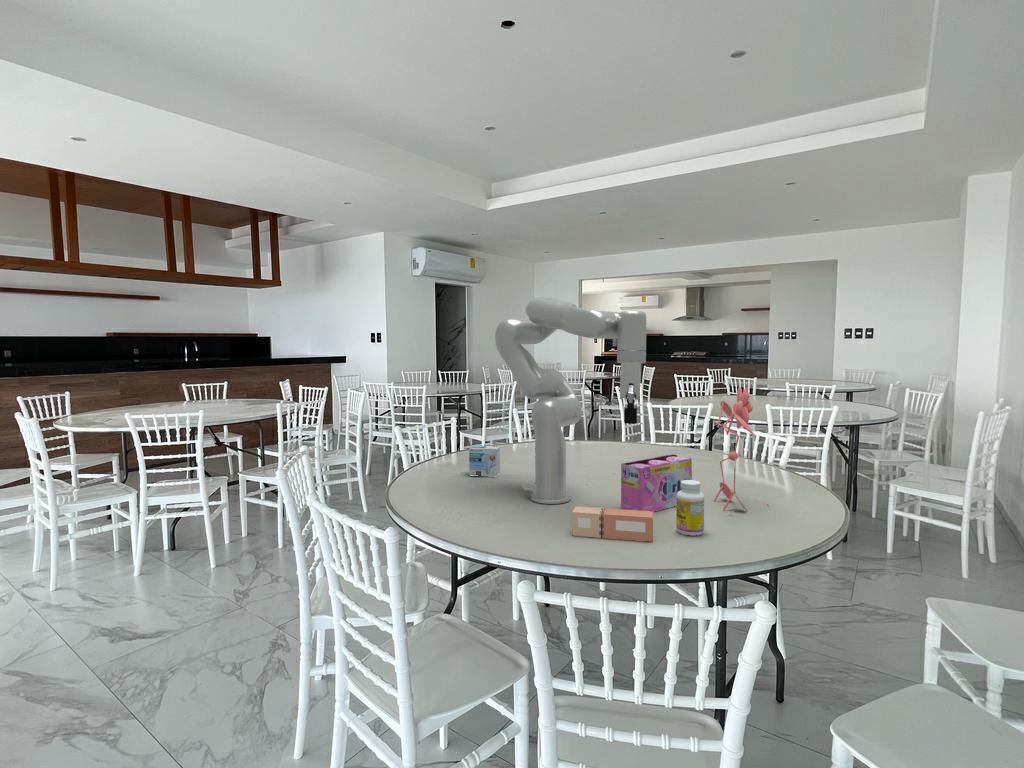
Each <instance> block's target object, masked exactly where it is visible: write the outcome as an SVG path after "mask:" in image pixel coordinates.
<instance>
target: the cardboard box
mask: <svg viewBox="0 0 1024 768" xmlns="http://www.w3.org/2000/svg"><path fill="white" fill-rule="evenodd" d="M601 539H608V540H619V539H620V540H619V541H631V540H635V541H634V542H644V541H649V542H648V543H653V542H654V541H653V539H654V512H653V511H638V510H622V509H621V508H620V509H618V508H605V507H604V508H603V513H602V536H601ZM650 541H651V542H650Z"/></svg>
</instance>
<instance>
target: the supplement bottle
mask: <svg viewBox="0 0 1024 768" xmlns="http://www.w3.org/2000/svg"><path fill="white" fill-rule="evenodd" d="M681 488H682V490H680V491H679V492H678V493H677V506H676V520H675V521H676V524H675V525H676V528H675V529H676V531H677V532H678V533H679V534H681V535H684V536H688V535H690V537H694V536H696V535H697V536H701V535H703V534H704V533H705V494H704V493H703V492H702V491H700V489H701V482H700V481H698V480H695V479H692V480H683V481H681ZM697 536H696V537H697Z"/></svg>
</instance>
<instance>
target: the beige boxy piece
mask: <svg viewBox="0 0 1024 768" xmlns="http://www.w3.org/2000/svg"><path fill="white" fill-rule="evenodd" d="M603 510H604V508H603V507H591V506H577V505H576V506H574V508H573V510H572V536H573V537H583V538H585V537H587V538H598V539H602V513H603Z"/></svg>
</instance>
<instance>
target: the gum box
mask: <svg viewBox="0 0 1024 768" xmlns="http://www.w3.org/2000/svg"><path fill="white" fill-rule="evenodd" d="M620 464H621V465H620V466H621V467H620V474H621V475H620V477H621V478H620V486H621V487H620V491H621V492H620V509H622V510H638V511H653V513H655V511H656V512H660V511H664V510H668V509H670V508H671V507H672V508H675V507H677V493H678V492H679V491H680V490H682V488H681V481H683V480H693V469H692V468H693V465H692V457H689V458H686V457H680V456H678V455H677V454H666V455H660V456H655V457H651V458H647V459H646V458H645V459H639V460H635V461H634V460H633V461H628V462H623V463H620ZM674 506H675V507H674ZM667 508H668V509H667ZM663 509H664V510H663ZM659 510H660V511H659Z"/></svg>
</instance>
